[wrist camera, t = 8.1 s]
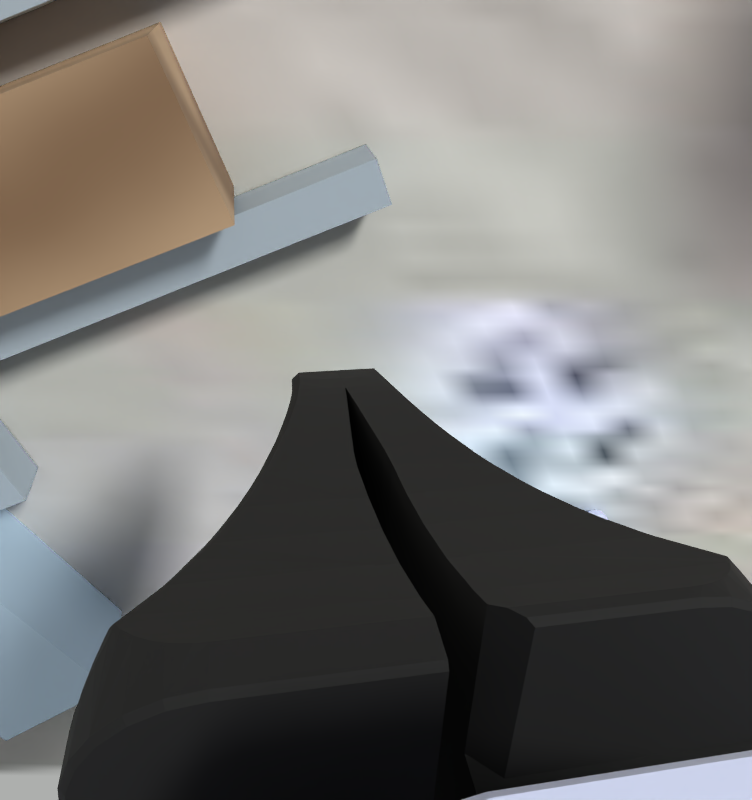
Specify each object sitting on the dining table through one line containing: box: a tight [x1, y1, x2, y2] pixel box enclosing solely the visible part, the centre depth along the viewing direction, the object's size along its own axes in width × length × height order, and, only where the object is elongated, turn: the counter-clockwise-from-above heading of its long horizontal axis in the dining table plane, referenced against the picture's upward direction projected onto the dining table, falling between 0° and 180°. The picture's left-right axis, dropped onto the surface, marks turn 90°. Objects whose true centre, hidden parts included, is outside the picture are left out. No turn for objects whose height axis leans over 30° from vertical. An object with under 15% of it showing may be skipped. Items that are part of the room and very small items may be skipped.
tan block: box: [0, 22, 235, 317], centre depth 17 cm, size 4×9×4 cm, turn 108°
